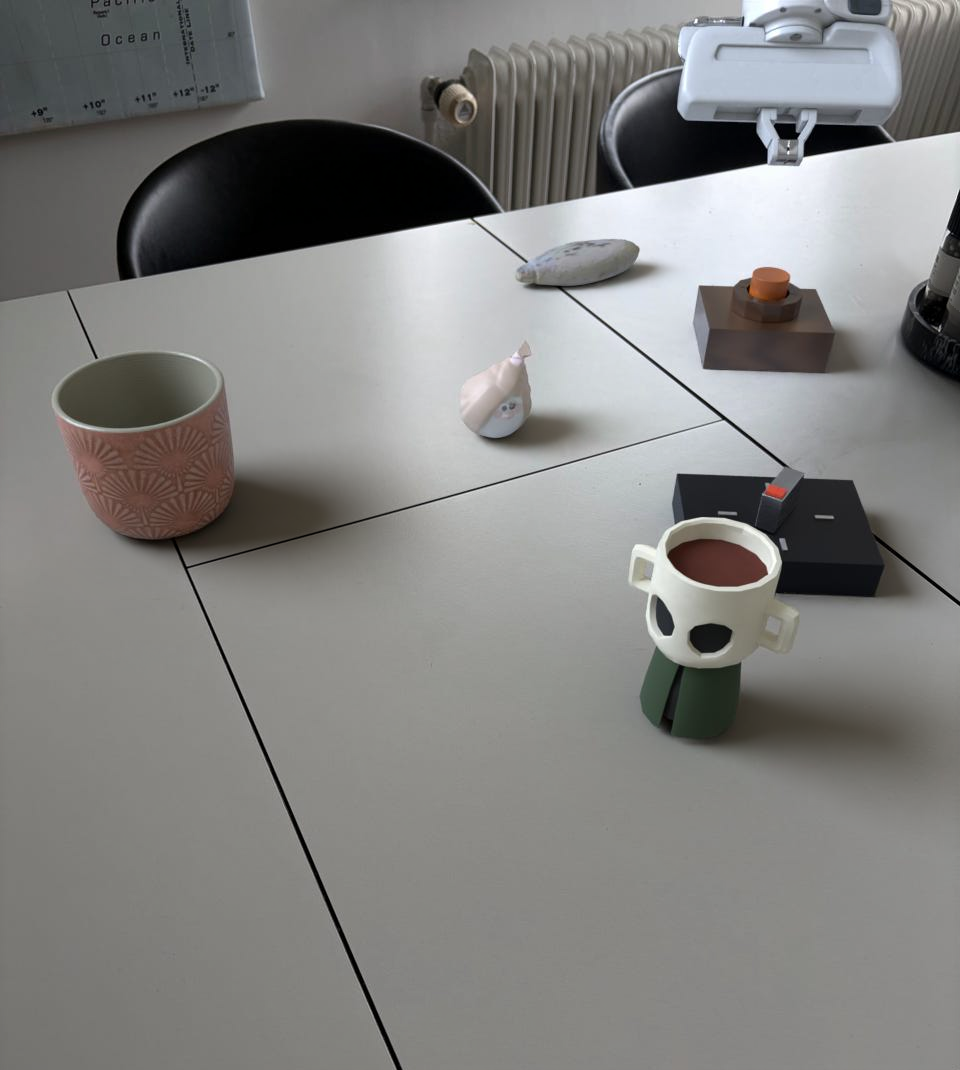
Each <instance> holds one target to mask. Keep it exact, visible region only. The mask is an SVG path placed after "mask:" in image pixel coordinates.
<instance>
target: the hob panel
mask: <svg viewBox="0 0 960 1070" xmlns="http://www.w3.org/2000/svg"><path fill="white" fill-rule="evenodd" d="M776 477H777V476H760V475H759V476H756V475H731V474H729V475H728V474H705V473H703V474H702V473H680V472H679V473H678V472H677V473H676V477H675V483H674V489H673V496H672V501H671V506H672V514H673V520H674V525H676V524H678V523H679V522H681V521H686V520H691V519H695V518H700V517H708V518H726V519H730V520H734V521H737V522H741V523H745V524H748V525H750V526H751V527H753V528H755V529H757V530H759V531H760V532H762V533H764V534H766V535H767V536H768V538H769V539H770V540H771V541H772V542H773V543H774V544H775V545H776V546H777V547H778V550H779V554H780V557H781V561H782V566H781V572H780V576H779V579H778V583H777V587H776V591H775V594H797V595H798V594H799V595H819V596H822V595H823V596H846V597H871V598H874V597H875V595H876V593H877V590H878V587H879V584H880V581H881V578H882V575H883V572H884V570H885V567H886V563H885V561H884V558H883V556H882V553H881V550H880V548H879V545H878V543H877V540H876V537H875V534H874V532H873V530H872V527H871V524H870V522H869V519H868V517H867V514H866V512H865V511H866V510H865V509H864V506H863V503H862V501H861V498H860V496H859V493H858V490H857V487H856V485H855V483H854V480H853V479H835V478H833V479H832V478H808V477H805V478H803V482H802V485H801V489H800V493H799V497H798V501H797V505H796V506H795V508H794V509H793V510H792V511H791V513H790V514H789V515H788V517H787V518H786V519H785V521H784V522H783V523H782V524H781V526H780V527H779V528H778V530H777V531H776V532H775V533H771V532H768V531H765V530H762V529H760V528H757V527H755V523H756V519H757V514H758V510H759V506H760V501H761V497H762V494H763V493H764V491H765V490H766V489H767V488H768V487H769V485H770V484H771V483H772V482H773V480H774V479H775V478H776Z"/></svg>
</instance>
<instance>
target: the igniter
mask: <svg viewBox="0 0 960 1070" xmlns="http://www.w3.org/2000/svg"><path fill="white" fill-rule="evenodd" d="M751 279H752V277H748V278H744V279H740V280H738V282H736V284H734V285H733V286H731V285H704V284H703V285H702V284H701V285H698V287H697V294H696V301H695V307H694V314H693V319H692V325H693V326H692V327H693V330H694V335H695V339H696V340H695V341H696V344H697V349H698V353H699V357H700V362H701V366H702V367H701V368H702V369H704V370H705V369H706V370H729V371H730V370H731V371H732V370H734V371H760V372H761V371H763V372H764V371H765V372H792V373H820V374H821V373H822V374H824V373H825V374H826V371H827V367H828V363H829V359H830V356H831V351H832V348H833V343H834V340H835V336H836V331H835V329H834V327H833V325H832V322H831V320H830V318H829V315H828V313H827V311H826V308H825V307H824V304H823V302H822V299H821V298H820V295H819V293H818V291H817V288H800V287H799V286H796V285H795V284H793V283H791V282H790V281H789V286H788V290H787V295H786V298H784V299H780V300H765V299H761V298H757V297H754V296H752V295H751V294H749V289H750V284H751Z"/></svg>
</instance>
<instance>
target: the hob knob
mask: <svg viewBox="0 0 960 1070" xmlns="http://www.w3.org/2000/svg"><path fill="white" fill-rule="evenodd" d="M775 477H776V478H775V479H774V480H773V482H772V483H771V484H770V485H769V487H768V488H767V489H766V490H765V491H764V493H763V494H762V497H761V501H760V506H759V510H758V514H757V519H756V523H755V527H757V528H760V529H762V530H765V531H768V532H771V533H775V532H776V531H777V530H778V528H779V527H780V526H781V524H782V523H783V522H784V521H785V519H786V518H787V517H788V515H789V514H790V513H791V511H792V510H793V509H794V508H795V506H796V505H797V501H798V497H799V493H800V489H801V485H802V482H803V478H804V477H805V472H803V471H800V470H797V469H794V468H792V467H788V466H784V467H783V468H782V469H781V471H780V472H779V473H778V474H777V475H776V476H775Z"/></svg>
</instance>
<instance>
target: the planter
mask: <svg viewBox="0 0 960 1070" xmlns="http://www.w3.org/2000/svg"><path fill="white" fill-rule="evenodd" d="M227 398H228V397H227V391H226V384H225V379H224V375H223V373H222V372H221V370H220V369H219V367H218V366H216V365H215V364H214V363H213V362H212V361H210V360H209V359H206V358H205V357H202V356H200V355H197V354H194V353H190V352H186V351H183V350H182V351H181V350H174V349H165V348H164V349H163V348H160V349H159V348H152V349H151V348H149V349H137V350H136V349H135V350H129V351H127V350H126V351H122V352H117V353H113V354H109V355H106V356H102V357H99V358H96V359H94V360H90V361H89V362H86V363H84V364H82V365H80V366H78V367H77V368H74V369H73V370H72V371H70V372H69V373H67V374H66V375H64V377H63V378H61V380H60V381H59V382H58V383H57V384H56V386H55V388H54V389H53V392H52V395H51V406H52V410H53V412H54V415H55V419H56V422H57V425H58V428H59V430H60V434H61V436H62V439H63V440H62V441H63V443H64V445H65V448H66V451H67V454H68V457H69V461H70V462H71V466H72V468H73V472H74V474H75V477H76V479H77V482H78V485H79V487H80V489H81V492H82V494H83V496H84V498H85V500H86V502H87V504H88V505H89V507H90V510H91V511H92V512H93V514H94V515H95V517H96V519H98V520H99V521H100V522H101V523H102V524H103V525H104V526H106V527H107V528H109V530H112V531H114V532H115V533H118V534H120V535H123V536H126V537H130V538H135V539H140V540H166V539H172V538H177V537H182V536H185V535H189V534H191V533H194V532H197V531H198V530H200V529H202V528H204V527H206V526H207V525H210V523H212V522H213V521H215V519H217V518H218V517H219V516H221V514H222V513H223V512H224V511H225V510H226V508H227V506H228V505H229V504H230V501H231V499H232V495H233V492H234V486H235V455H234V445H233V437H232V430H231V428H232V427H231V421H230V413H229V406H228V400H227Z"/></svg>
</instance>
